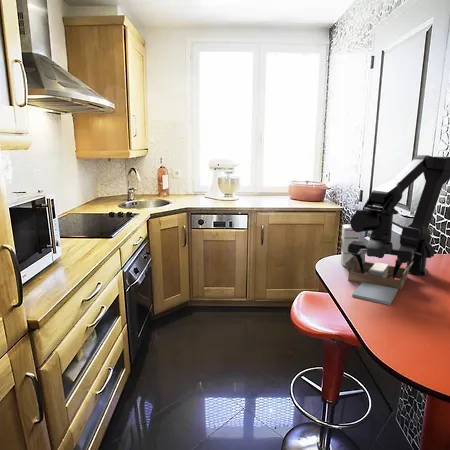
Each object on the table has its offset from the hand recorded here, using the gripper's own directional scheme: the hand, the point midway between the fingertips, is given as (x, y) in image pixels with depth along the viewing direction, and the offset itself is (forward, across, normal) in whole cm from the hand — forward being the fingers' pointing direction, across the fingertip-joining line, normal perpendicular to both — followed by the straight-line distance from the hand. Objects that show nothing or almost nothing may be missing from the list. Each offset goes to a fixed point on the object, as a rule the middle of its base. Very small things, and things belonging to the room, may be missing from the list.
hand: (378, 276), depth 110 cm
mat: (+1, +2, -12) cm, 13 cm away
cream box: (+1, 0, +1) cm, 2 cm away
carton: (+1, 0, 0) cm, 1 cm away
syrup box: (+1, -12, +10) cm, 16 cm away
